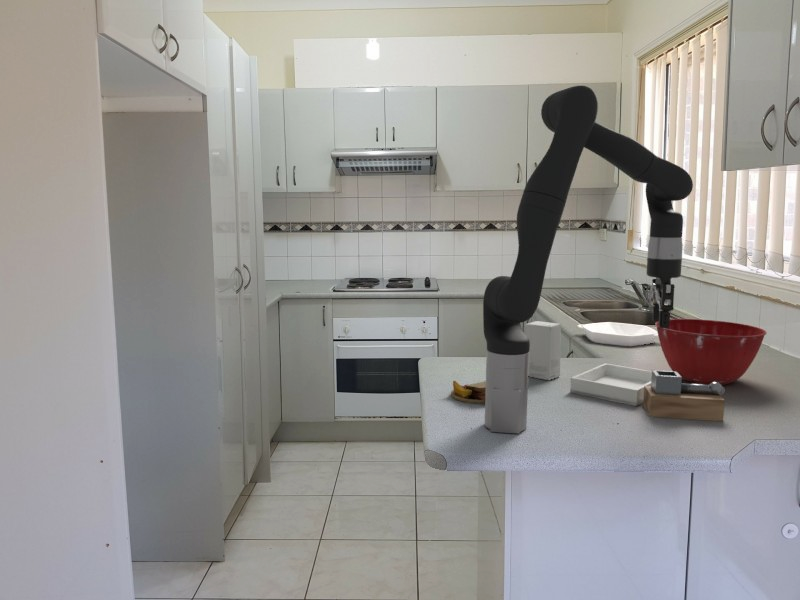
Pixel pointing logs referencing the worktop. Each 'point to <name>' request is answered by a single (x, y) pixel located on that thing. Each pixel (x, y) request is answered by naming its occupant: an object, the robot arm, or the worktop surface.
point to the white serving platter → (619, 333)
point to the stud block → (684, 405)
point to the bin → (613, 383)
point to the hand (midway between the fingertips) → (660, 324)
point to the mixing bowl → (709, 349)
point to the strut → (680, 385)
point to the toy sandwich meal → (469, 392)
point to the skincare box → (544, 349)
